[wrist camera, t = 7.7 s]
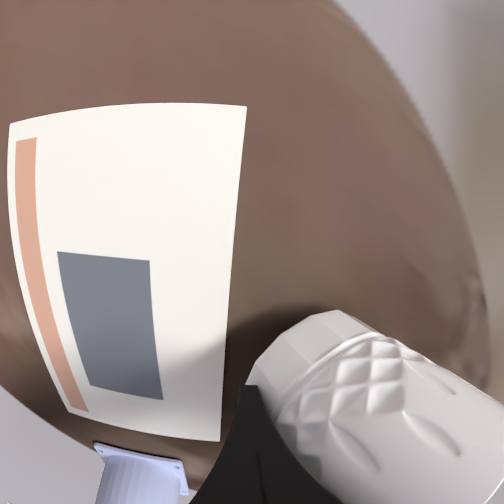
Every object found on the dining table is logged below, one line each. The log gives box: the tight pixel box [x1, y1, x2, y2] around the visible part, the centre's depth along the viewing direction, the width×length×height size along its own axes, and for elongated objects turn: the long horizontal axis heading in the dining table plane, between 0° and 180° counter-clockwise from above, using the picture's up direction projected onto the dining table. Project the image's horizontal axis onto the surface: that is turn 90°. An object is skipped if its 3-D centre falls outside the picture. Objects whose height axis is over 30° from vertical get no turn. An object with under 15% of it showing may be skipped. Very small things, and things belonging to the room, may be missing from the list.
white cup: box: [245, 310, 504, 504], centre depth 8 cm, size 8×8×10 cm
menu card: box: [7, 103, 247, 441], centre depth 12 cm, size 20×12×1 cm, turn 174°
